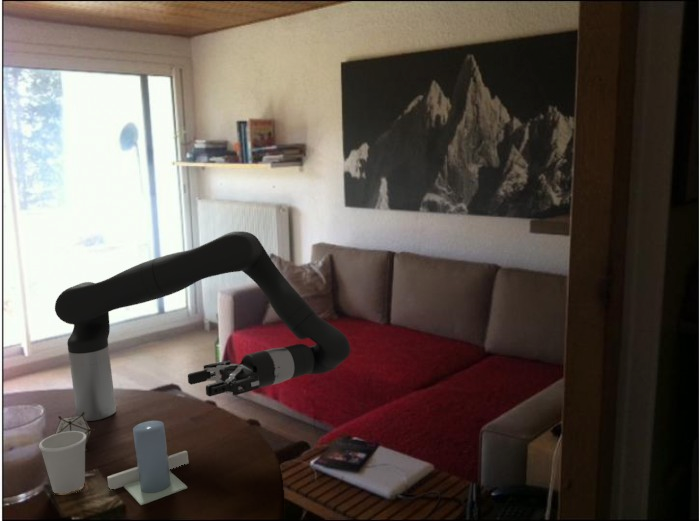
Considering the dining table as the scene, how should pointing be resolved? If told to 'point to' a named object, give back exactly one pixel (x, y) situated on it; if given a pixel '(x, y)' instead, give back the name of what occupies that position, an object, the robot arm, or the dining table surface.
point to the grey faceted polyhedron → (74, 426)
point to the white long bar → (133, 475)
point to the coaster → (148, 497)
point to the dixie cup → (65, 460)
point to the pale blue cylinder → (152, 456)
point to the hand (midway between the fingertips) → (197, 385)
